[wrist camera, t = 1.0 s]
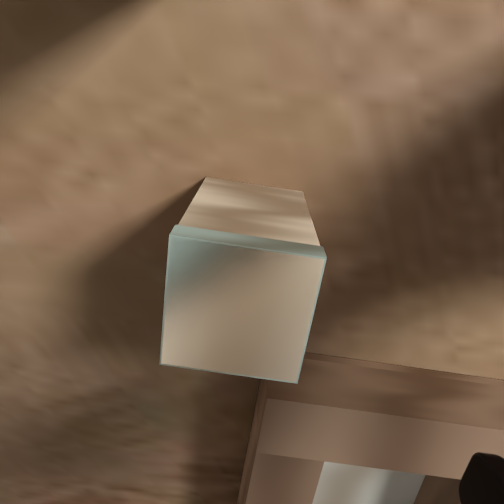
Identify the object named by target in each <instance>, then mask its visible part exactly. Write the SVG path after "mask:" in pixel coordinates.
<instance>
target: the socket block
mask: <svg viewBox="0 0 504 504" xmlns="http://www.w3.org/2000/svg"><path fill="white" fill-rule="evenodd" d="M477 452H482V453H489V454H496V455H499V456H501V457H502V458H504V380H499V379H492V378H485V377H478V376H470V375H463V374H456V373H449V372H442V371H435V370H428V369H421V368H413V367H406V366H399V365H392V364H385V363H378V362H371V361H363V360H356V359H349V358H342V357H335V356H328V355H321V354H313V353H306V352H305V354H304V358H303V362H302V366H301V371H300V375H299V379H298V383H297V384H296V383H289V382H282V381H274V380H267V379H261V380H260V385H259V390H258V395H257V401H256V406H255V411H254V416H253V421H252V427H251V432H250V437H249V442H248V448H247V453H246V458H245V463H244V468H243V474H242V479H241V484H240V489H239V495H238V500H237V504H461V503H460V499H459V492H458V489H459V483H460V480H461V478H462V476H463V474H464V472H465V470H466V467H467V465H468V463H469V461H470V459H471V457H472V455H474V454H475V453H477Z"/></svg>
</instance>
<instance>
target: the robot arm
mask: <svg viewBox="0 0 504 504" xmlns="http://www.w3.org/2000/svg"><path fill="white" fill-rule="evenodd" d="M458 492H459V499H460V503H461V504H504V458H502V457H501V456H499V455H496V454H489V453H482V452H477V453H475V454H474V455H472V457H471V459H470V461H469V463H468V465H467V467H466V470H465V472H464V474H463V476H462V478H461V480H460V483H459V489H458Z"/></svg>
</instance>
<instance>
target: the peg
mask: <svg viewBox="0 0 504 504" xmlns="http://www.w3.org/2000/svg"><path fill="white" fill-rule="evenodd" d="M326 260H327V257H326V254H325V251H324V248H323V246H320V243H319V240H318V237H317V234H316V231H315V228H314V225H313V222H312V219H311V216H310V213H309V209H308V206H307V203H306V200H305V197H304V194H303V191H297V190H290V189H284V188H277V187H270V186H264V185H257V184H251V183H244V182H237V181H231V180H224V179H218V178H211V177H206V178H205V180H204V181H203V183H202V185H201V186H200V188H199V190H198V192H197V193H196V195H195V197H194V198H193V200H192V202H191V203H190V205H189V207H188V209H187V210H186V212H185V214H184V215H183V217H182V219H181V221H180V222H179V224H178V225H175V226H174V228H173V229H172V231H171V233H170V234H169V244H168V257H167V270H166V283H165V297H164V310H163V323H162V336H161V349H160V363H159V365H165V366H173V367H180V368H187V369H194V370H202V371H209V372H216V373H223V374H231V375H238V376H245V377H253V378H260V379H267V380H274V381H282V382H289V383H296V384H297V383H298V379H299V375H300V371H301V366H302V362H303V358H304V354H305V349H306V345H307V341H308V337H309V332H310V328H311V324H312V319H313V315H314V311H315V307H316V302H317V298H318V294H319V290H320V285H321V281H322V277H323V273H324V268H325V264H326Z"/></svg>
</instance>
